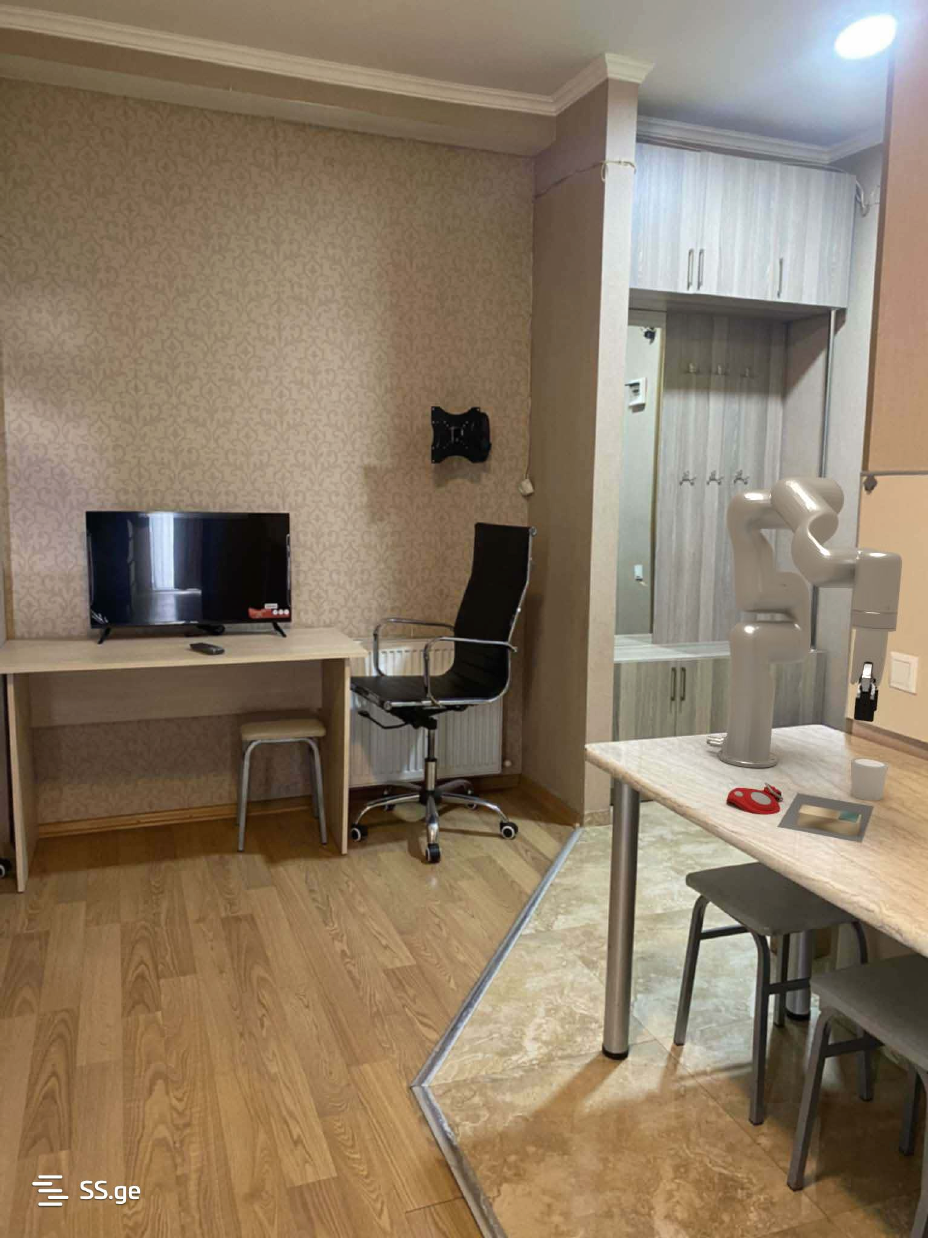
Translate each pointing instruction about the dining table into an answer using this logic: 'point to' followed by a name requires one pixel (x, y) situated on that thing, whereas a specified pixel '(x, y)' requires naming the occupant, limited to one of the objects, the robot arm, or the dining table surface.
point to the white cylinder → (868, 778)
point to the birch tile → (829, 820)
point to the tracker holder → (756, 799)
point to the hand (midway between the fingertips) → (865, 715)
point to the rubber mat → (801, 799)
